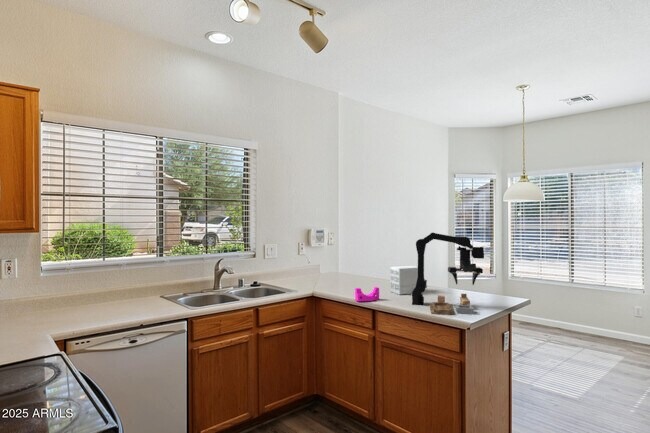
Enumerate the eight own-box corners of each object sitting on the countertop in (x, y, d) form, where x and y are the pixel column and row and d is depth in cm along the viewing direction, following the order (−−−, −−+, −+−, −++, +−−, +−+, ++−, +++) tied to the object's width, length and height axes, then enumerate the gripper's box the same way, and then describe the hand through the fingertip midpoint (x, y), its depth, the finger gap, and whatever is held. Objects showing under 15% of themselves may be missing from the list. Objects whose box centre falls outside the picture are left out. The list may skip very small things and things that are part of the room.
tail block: (437, 304, 235) (437, 296, 235) (437, 303, 238) (437, 295, 239) (444, 305, 234) (444, 296, 234) (444, 303, 238) (444, 295, 238)
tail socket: (457, 313, 212) (457, 307, 212) (455, 309, 221) (455, 304, 221) (473, 314, 211) (473, 308, 211) (471, 310, 219) (471, 305, 219)
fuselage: (462, 309, 222) (462, 297, 222) (460, 305, 234) (460, 293, 234) (470, 310, 222) (470, 297, 222) (467, 305, 233) (467, 293, 233)
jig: (431, 313, 212) (431, 309, 212) (429, 305, 231) (429, 301, 231) (454, 314, 209) (454, 310, 209) (450, 306, 229) (450, 302, 229)
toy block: (358, 301, 245) (357, 289, 245) (355, 299, 251) (355, 287, 251) (380, 300, 248) (380, 288, 248) (377, 298, 254) (377, 287, 254)
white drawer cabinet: (410, 290, 284) (410, 265, 284) (421, 293, 271) (420, 267, 271) (389, 291, 278) (389, 266, 278) (399, 294, 265) (399, 268, 265)
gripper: (451, 259, 222) (451, 286, 221) (485, 259, 220) (485, 287, 219) (447, 257, 233) (447, 283, 233) (480, 257, 231) (479, 284, 230)
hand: (464, 284), depth 228 cm, fingers open, 9 cm apart
